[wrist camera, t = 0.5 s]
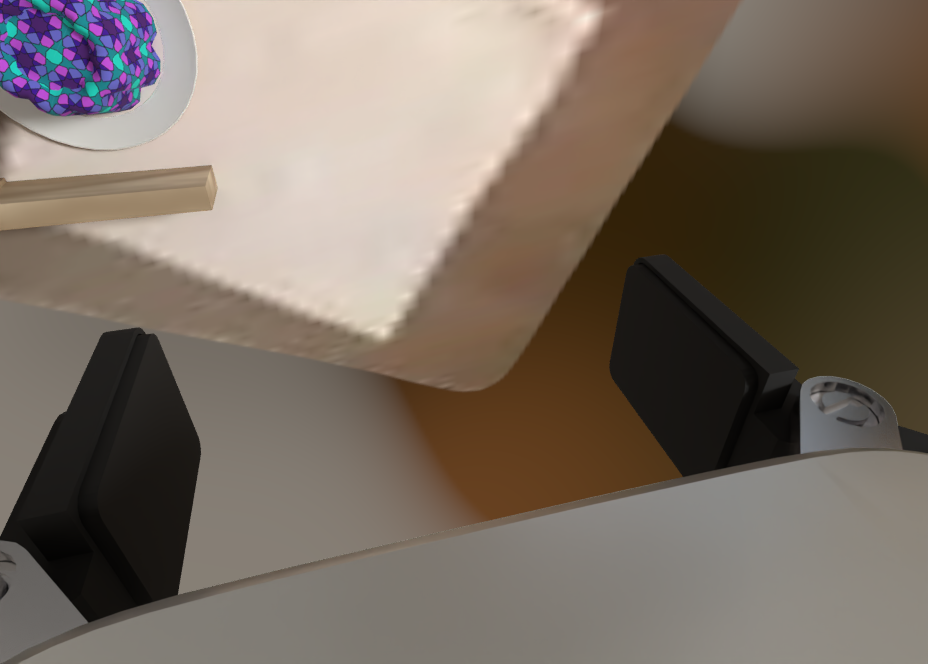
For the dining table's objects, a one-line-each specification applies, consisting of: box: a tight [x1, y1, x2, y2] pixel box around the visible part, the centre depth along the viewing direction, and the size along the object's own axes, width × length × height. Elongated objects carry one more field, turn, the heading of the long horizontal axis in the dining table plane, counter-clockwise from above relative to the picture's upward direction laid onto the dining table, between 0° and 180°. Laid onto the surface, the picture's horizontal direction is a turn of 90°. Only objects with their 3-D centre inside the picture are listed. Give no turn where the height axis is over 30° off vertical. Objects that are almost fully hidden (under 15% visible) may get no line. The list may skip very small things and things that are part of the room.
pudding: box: [0, 0, 198, 150], centre depth 28 cm, size 12×12×5 cm
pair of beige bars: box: [0, 165, 218, 231], centre depth 28 cm, size 18×14×5 cm
